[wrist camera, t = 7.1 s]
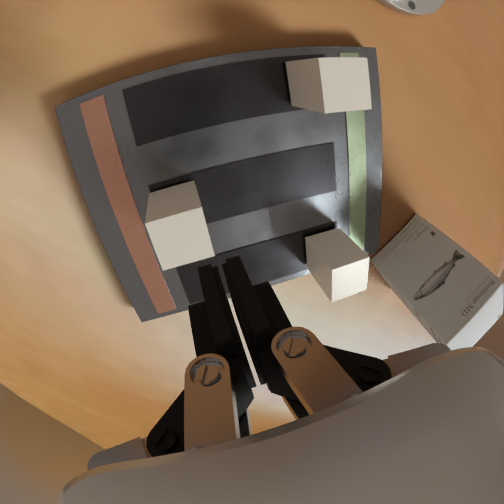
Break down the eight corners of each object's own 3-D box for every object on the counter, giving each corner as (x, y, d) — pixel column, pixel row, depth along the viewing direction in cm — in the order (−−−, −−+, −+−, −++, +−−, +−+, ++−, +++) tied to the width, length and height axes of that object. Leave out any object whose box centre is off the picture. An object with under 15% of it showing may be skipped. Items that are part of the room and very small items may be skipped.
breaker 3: (305, 237, 23) (332, 269, 19) (339, 227, 23) (369, 257, 20) (307, 268, 25) (331, 302, 21) (338, 258, 25) (366, 289, 21)
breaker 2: (285, 62, 16) (318, 57, 12) (327, 59, 16) (367, 57, 13) (291, 105, 18) (324, 113, 14) (332, 101, 18) (371, 109, 14)
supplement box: (415, 210, 28) (506, 279, 17) (432, 249, 32) (504, 314, 21) (366, 259, 29) (446, 345, 19) (390, 291, 33) (454, 366, 23)
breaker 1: (148, 193, 18) (144, 223, 14) (194, 180, 19) (201, 206, 15) (162, 233, 20) (162, 270, 16) (204, 221, 20) (214, 256, 17)
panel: (62, 105, 15) (54, 107, 14) (364, 48, 18) (376, 47, 17) (142, 310, 25) (141, 323, 24) (369, 243, 28) (378, 251, 27)
